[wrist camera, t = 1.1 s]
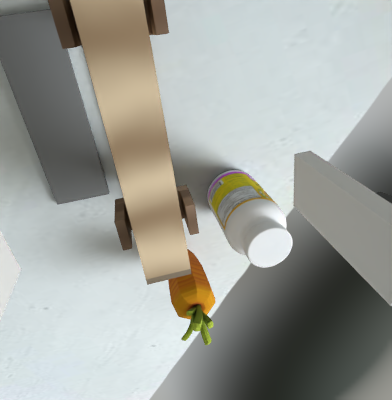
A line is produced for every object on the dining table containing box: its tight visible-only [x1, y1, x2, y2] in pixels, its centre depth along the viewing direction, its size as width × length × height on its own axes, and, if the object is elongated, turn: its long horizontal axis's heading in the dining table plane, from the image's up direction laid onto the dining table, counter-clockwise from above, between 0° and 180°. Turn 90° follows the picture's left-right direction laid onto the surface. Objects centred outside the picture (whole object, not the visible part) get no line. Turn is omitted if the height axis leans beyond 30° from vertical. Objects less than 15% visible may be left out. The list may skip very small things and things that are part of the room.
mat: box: [0, 9, 109, 205], centre depth 33 cm, size 19×6×1 cm, turn 8°
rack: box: [48, 0, 199, 250], centre depth 29 cm, size 23×7×12 cm, turn 8°
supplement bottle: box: [207, 170, 292, 267], centre depth 36 cm, size 7×7×13 cm
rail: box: [70, 0, 192, 285], centre depth 24 cm, size 25×4×4 cm, turn 8°
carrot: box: [168, 249, 215, 345], centre depth 38 cm, size 5×5×15 cm
